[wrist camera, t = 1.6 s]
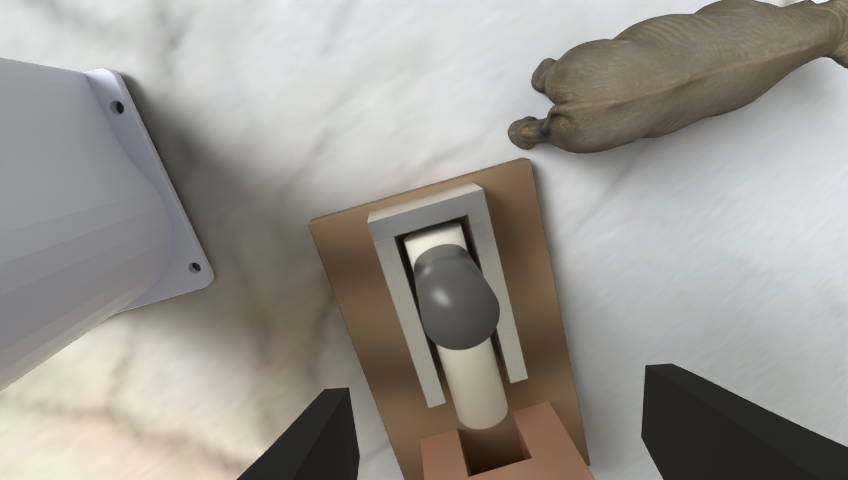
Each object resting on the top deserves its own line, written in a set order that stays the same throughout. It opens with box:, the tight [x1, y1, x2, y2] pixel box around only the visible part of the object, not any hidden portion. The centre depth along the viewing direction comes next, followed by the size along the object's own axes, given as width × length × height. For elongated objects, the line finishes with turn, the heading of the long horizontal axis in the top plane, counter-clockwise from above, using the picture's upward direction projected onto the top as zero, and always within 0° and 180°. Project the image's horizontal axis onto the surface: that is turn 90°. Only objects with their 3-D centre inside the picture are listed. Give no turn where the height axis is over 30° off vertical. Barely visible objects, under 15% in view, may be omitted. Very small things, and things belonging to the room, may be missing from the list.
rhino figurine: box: [508, 0, 848, 153], centre depth 15 cm, size 4×14×6 cm, turn 106°
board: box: [308, 158, 590, 480], centre depth 20 cm, size 18×10×1 cm, turn 16°
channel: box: [367, 181, 528, 408], centre depth 17 cm, size 9×5×2 cm, turn 16°
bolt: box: [404, 222, 508, 429], centre depth 16 cm, size 9×2×6 cm, turn 16°
